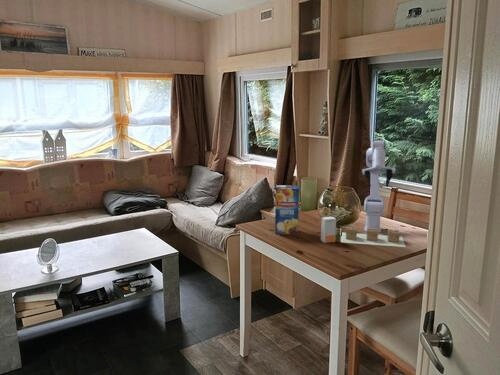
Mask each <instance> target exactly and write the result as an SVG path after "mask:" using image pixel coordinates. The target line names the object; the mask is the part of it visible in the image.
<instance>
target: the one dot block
mask: <svg viewBox="0 0 500 375" xmlns="http://www.w3.org/2000/svg"><path fill="white" fill-rule="evenodd" d="M400 235H401V232H400V230H399V229H393V228H391V229H390V228H387V236H388V237H387V239H388V242H394V243H399V236H400Z"/></svg>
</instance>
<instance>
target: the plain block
mask: <svg viewBox="0 0 500 375" xmlns="http://www.w3.org/2000/svg"><path fill="white" fill-rule="evenodd" d="M366 234H367V241H377V240H378V235H379V232H378V229H377V228H367V231H366Z"/></svg>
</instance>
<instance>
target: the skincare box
mask: <svg viewBox="0 0 500 375" xmlns="http://www.w3.org/2000/svg"><path fill="white" fill-rule="evenodd" d="M320 225H321V226H320V241H321V242H322V243H324V244H325V243H335V242H336V228H337V218H336V217H334V216H324V217H321V224H320Z"/></svg>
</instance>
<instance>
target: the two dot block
mask: <svg viewBox="0 0 500 375" xmlns="http://www.w3.org/2000/svg"><path fill="white" fill-rule="evenodd" d="M345 230H346V231H345V233H346V239H352V240H356V236H357V234H358V233H357V231H358V227H356V226H346V227H345Z"/></svg>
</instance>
